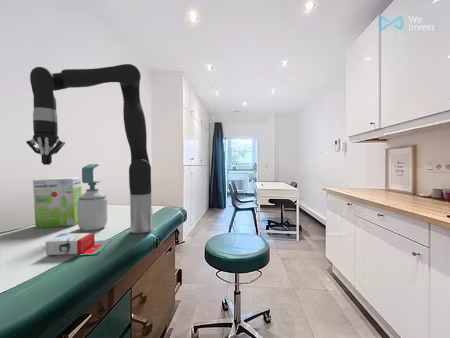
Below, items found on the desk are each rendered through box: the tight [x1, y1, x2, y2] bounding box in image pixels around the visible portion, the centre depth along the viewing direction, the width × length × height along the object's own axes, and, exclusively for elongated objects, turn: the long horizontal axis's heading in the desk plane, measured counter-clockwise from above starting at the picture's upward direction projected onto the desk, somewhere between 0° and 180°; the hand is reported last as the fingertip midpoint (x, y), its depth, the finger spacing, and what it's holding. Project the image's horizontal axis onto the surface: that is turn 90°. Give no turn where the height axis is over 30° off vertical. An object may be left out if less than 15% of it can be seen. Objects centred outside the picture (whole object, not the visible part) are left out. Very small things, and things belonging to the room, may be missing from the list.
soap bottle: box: [77, 163, 108, 232], centre depth 106 cm, size 12×12×31 cm
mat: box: [54, 239, 112, 259], centre depth 81 cm, size 13×14×1 cm
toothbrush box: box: [32, 176, 83, 229], centre depth 114 cm, size 18×10×24 cm, turn 102°
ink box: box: [45, 232, 102, 256], centre depth 78 cm, size 8×5×15 cm
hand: (46, 164), depth 87 cm, fingers closed
